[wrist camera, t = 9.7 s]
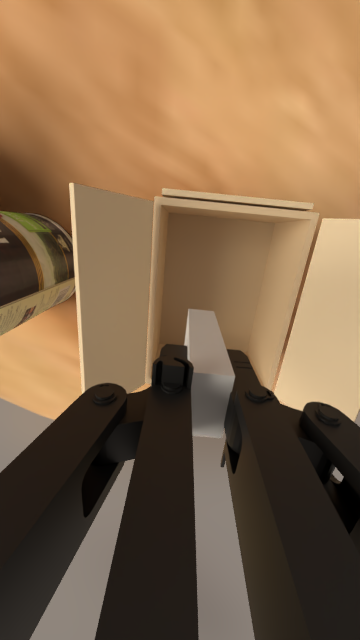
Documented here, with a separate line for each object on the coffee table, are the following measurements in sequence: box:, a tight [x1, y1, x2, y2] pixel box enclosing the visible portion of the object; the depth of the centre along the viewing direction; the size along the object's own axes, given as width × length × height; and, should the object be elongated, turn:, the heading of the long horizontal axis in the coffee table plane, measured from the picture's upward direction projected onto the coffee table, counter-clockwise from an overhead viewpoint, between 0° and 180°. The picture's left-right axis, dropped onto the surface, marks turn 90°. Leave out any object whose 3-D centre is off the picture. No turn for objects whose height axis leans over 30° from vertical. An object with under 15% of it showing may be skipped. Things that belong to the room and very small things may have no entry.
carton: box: [145, 188, 320, 391], centre depth 24 cm, size 17×12×8 cm
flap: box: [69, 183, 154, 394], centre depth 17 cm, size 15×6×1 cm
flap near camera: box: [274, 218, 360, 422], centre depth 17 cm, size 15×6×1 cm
